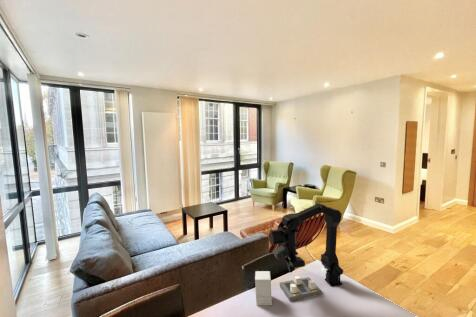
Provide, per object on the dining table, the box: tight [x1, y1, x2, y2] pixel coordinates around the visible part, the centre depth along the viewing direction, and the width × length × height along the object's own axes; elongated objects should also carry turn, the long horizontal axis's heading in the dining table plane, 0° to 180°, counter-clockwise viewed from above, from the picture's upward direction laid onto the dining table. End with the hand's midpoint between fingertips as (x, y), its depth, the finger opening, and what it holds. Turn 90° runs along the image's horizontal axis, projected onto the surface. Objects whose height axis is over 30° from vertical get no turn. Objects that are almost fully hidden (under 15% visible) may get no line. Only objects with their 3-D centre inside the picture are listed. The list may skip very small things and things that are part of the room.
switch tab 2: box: [293, 275, 301, 285], centre depth 119 cm, size 2×2×3 cm
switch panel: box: [278, 276, 323, 302], centre depth 117 cm, size 17×12×2 cm
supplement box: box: [254, 270, 273, 306], centre depth 110 cm, size 7×7×13 cm
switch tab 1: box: [290, 284, 297, 294], centre depth 112 cm, size 2×2×3 cm
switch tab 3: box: [308, 279, 316, 290], centre depth 115 cm, size 2×2×3 cm
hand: (290, 272), depth 114 cm, fingers closed
